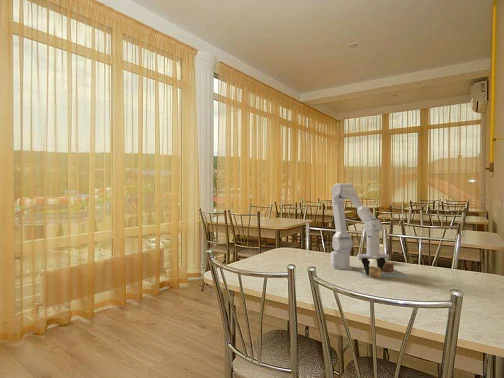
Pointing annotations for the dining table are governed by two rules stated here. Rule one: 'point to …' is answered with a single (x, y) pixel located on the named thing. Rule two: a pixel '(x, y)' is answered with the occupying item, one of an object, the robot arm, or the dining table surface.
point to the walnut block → (388, 267)
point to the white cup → (380, 253)
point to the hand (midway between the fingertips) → (373, 274)
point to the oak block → (374, 272)
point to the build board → (387, 274)
